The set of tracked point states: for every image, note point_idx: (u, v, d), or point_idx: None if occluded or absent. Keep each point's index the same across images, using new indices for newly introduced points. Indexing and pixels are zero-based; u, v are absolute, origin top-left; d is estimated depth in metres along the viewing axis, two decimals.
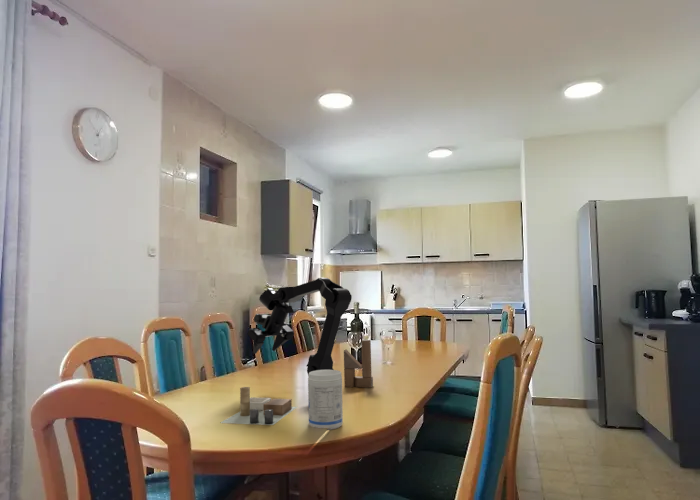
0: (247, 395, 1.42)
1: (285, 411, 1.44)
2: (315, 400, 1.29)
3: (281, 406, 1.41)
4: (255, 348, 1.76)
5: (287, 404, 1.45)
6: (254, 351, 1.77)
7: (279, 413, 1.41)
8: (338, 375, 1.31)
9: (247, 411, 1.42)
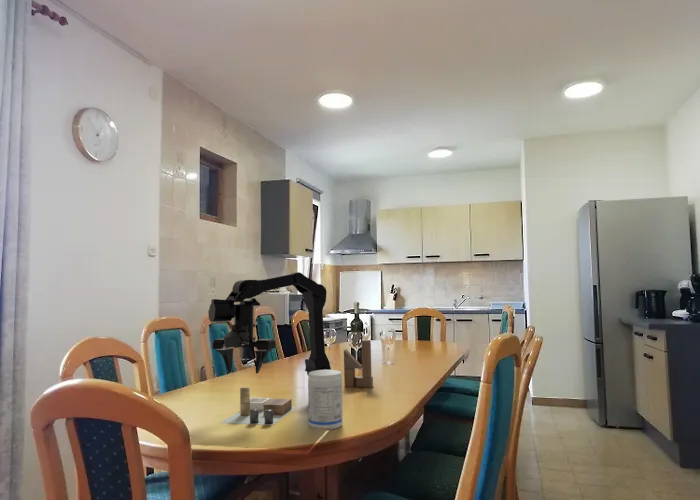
0: (247, 395, 1.42)
1: (285, 411, 1.44)
2: (315, 400, 1.29)
3: (281, 406, 1.41)
4: (261, 364, 1.44)
5: (287, 404, 1.45)
6: (258, 370, 1.43)
7: (279, 413, 1.41)
8: (338, 375, 1.31)
9: (247, 411, 1.42)
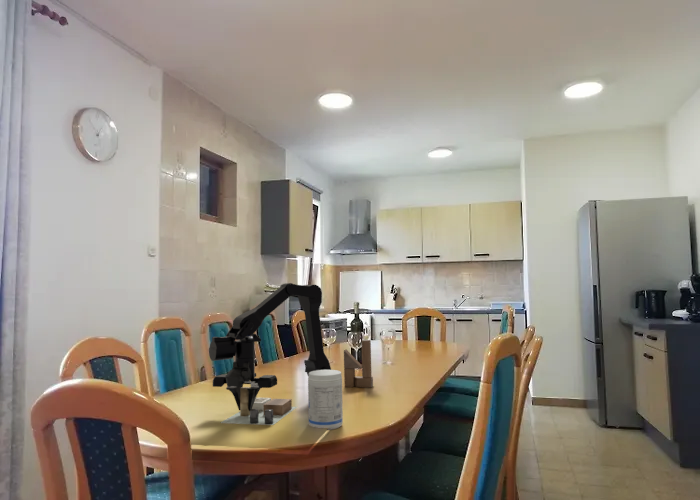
0: (247, 395, 1.42)
1: (285, 411, 1.44)
2: (315, 400, 1.29)
3: (281, 406, 1.41)
4: (253, 401, 1.43)
5: (287, 404, 1.45)
6: (251, 407, 1.42)
7: (279, 413, 1.41)
8: (338, 375, 1.30)
9: (247, 411, 1.42)
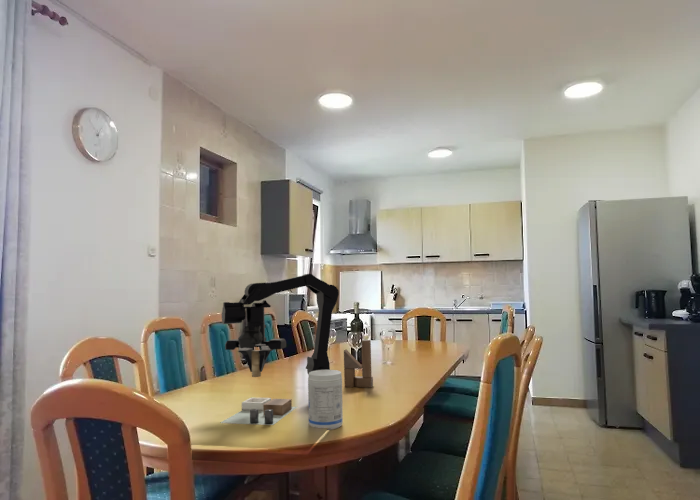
0: (258, 357, 1.51)
1: (285, 411, 1.44)
2: (315, 400, 1.29)
3: (281, 406, 1.41)
4: (264, 363, 1.51)
5: (287, 404, 1.45)
6: (262, 368, 1.51)
7: (279, 413, 1.41)
8: (338, 375, 1.31)
9: (259, 372, 1.50)
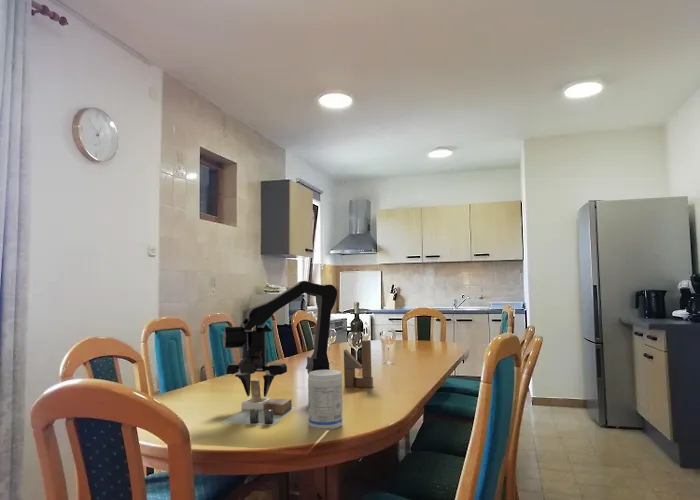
0: (257, 387, 1.50)
1: (285, 411, 1.44)
2: (315, 400, 1.29)
3: (281, 406, 1.41)
4: (268, 387, 1.51)
5: (287, 404, 1.45)
6: (266, 393, 1.51)
7: (279, 413, 1.41)
8: (338, 375, 1.30)
9: None
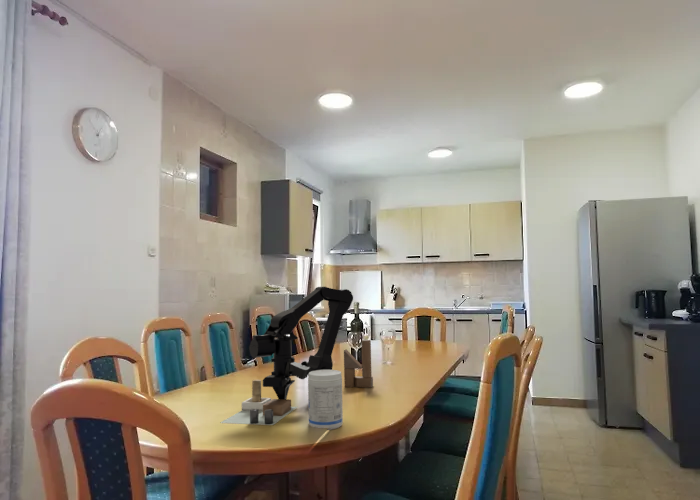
0: (259, 387, 1.50)
1: (284, 411, 1.43)
2: (315, 400, 1.29)
3: (280, 406, 1.41)
4: None
5: (286, 404, 1.45)
6: None
7: (278, 413, 1.41)
8: (338, 375, 1.30)
9: None
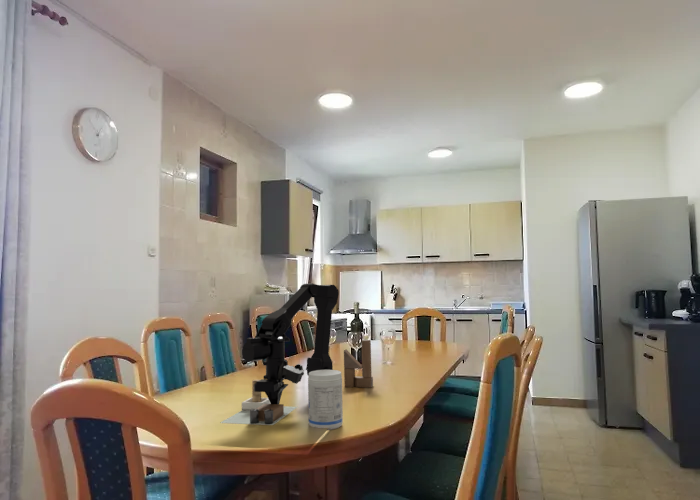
0: None
1: (276, 417, 1.37)
2: (315, 400, 1.29)
3: None
4: None
5: (278, 410, 1.39)
6: None
7: None
8: (338, 375, 1.30)
9: None
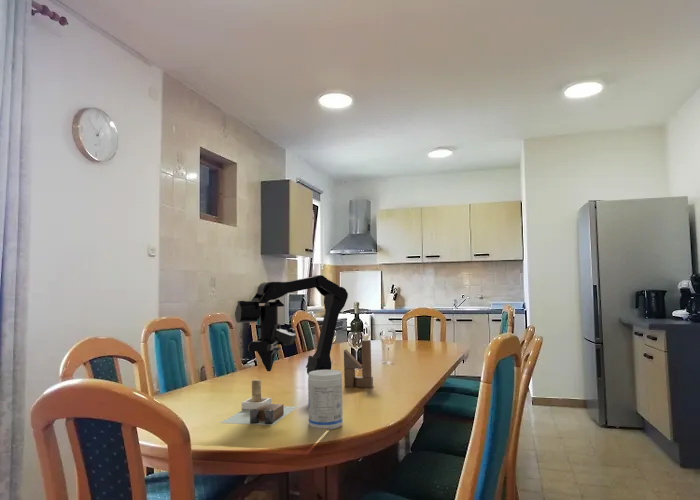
0: (258, 387, 1.50)
1: (276, 417, 1.37)
2: (315, 400, 1.29)
3: None
4: None
5: (278, 410, 1.39)
6: None
7: None
8: (338, 375, 1.30)
9: None
